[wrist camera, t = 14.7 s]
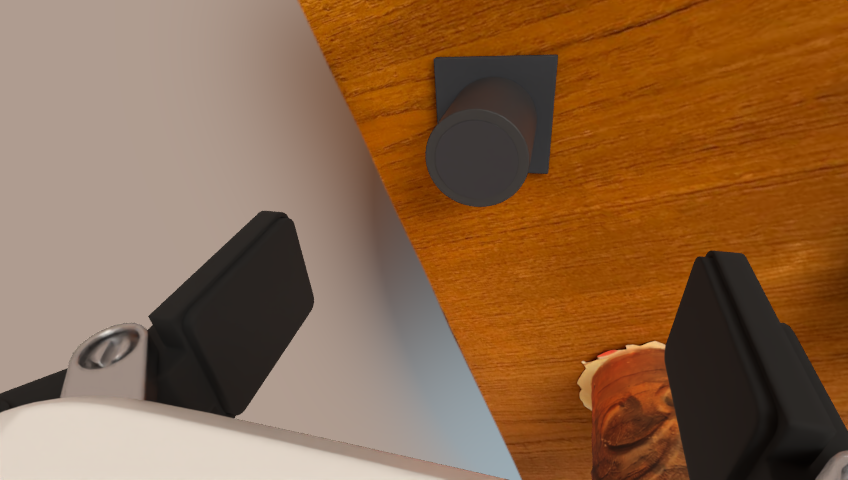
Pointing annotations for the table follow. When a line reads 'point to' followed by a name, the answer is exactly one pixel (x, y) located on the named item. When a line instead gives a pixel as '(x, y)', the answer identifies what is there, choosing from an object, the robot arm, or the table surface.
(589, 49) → the table surface
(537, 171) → the pad
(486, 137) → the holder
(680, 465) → the vessel
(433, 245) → the table surface
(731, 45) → the table surface
